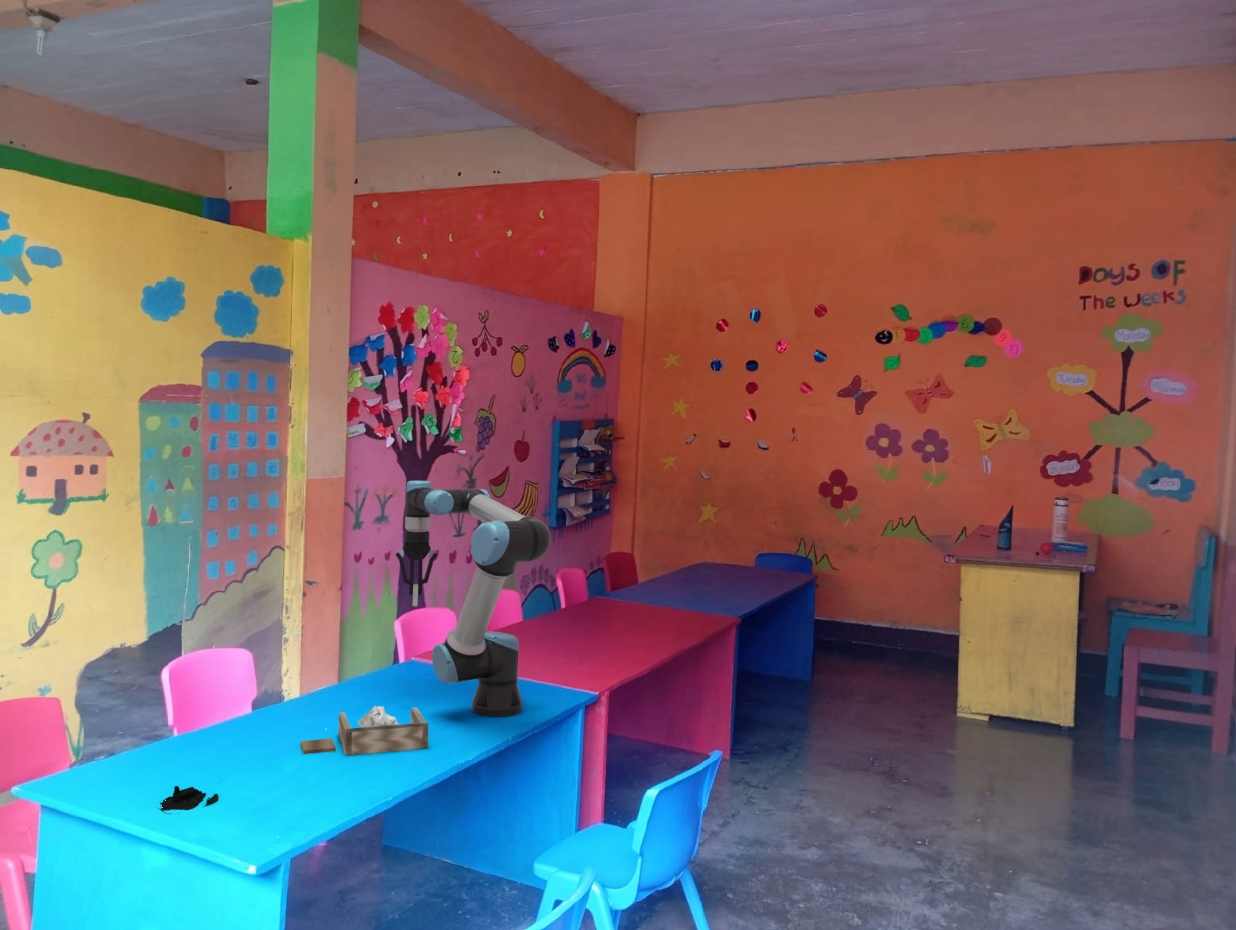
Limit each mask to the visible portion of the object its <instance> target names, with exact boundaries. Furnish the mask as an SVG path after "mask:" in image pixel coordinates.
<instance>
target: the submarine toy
mask: <svg viewBox="0 0 1236 930" xmlns="http://www.w3.org/2000/svg"><path fill="white" fill-rule="evenodd" d="M173 789H174V790H173V793H172V796H168V797H165V799H163V800H162V801H163V802H162V803H161V802H160V804H161V805H162V806H161V805H160V804H159V805H160V808H159V807H158V808H157V809H158V810H159V809H160V810H159V811H161V812H162V813H164V814H166V815H171V813H168V812H166V811H191V810H193V809H195V808H197V807H198V806H199V805H200V804H201V803H202V802H204V799H206V801H205V805H203V808H205V807H208V806H211V805H213V804H216V803H217V802H218V801H219V796H220V795H219V794H218V793H214V794H213V795H212V796H210V797H207V798H206V796H207V793H206V792H203V791H202V790H199V789H197V788H195V787H194V786H190V787H187V788H184V789H181V788H180V787H179V786H178V785H176V786H174V787H173ZM165 800H166V801H165ZM161 807H163V808H161ZM180 814H181V813H178V815H180ZM181 815H182V814H181Z"/></svg>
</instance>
